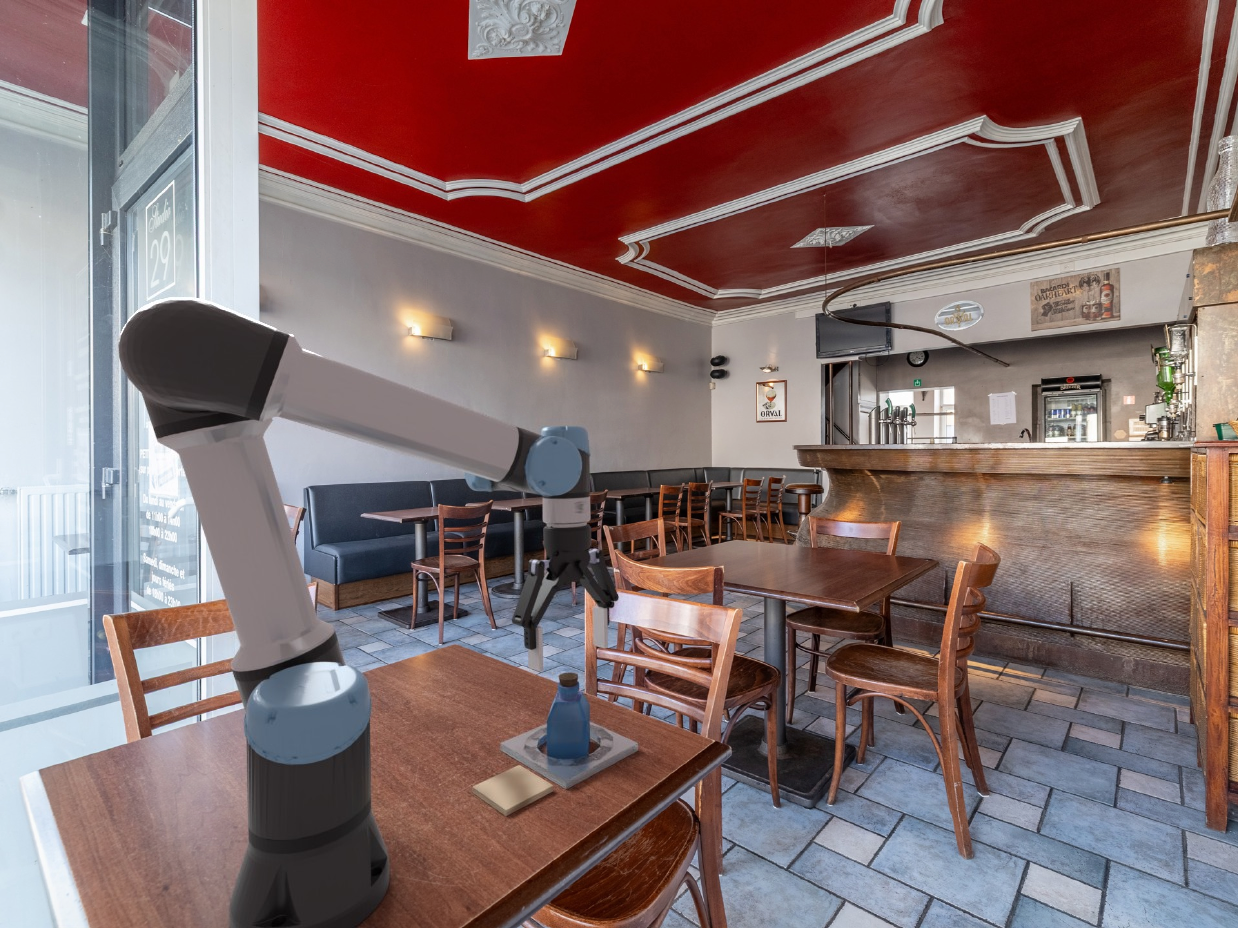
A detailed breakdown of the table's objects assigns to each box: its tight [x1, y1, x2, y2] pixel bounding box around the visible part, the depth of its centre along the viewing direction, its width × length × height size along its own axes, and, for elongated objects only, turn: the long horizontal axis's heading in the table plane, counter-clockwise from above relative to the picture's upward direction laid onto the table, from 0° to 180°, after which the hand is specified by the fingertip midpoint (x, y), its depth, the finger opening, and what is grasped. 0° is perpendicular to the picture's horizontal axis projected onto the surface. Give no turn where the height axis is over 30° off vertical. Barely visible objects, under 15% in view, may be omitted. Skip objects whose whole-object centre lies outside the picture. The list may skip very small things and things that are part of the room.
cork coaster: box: [471, 764, 554, 817], centre depth 83 cm, size 8×8×1 cm
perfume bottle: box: [546, 672, 591, 759], centre depth 94 cm, size 6×6×12 cm
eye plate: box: [500, 721, 639, 790], centre depth 95 cm, size 15×16×1 cm
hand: (569, 657), depth 94 cm, fingers open, 13 cm apart
